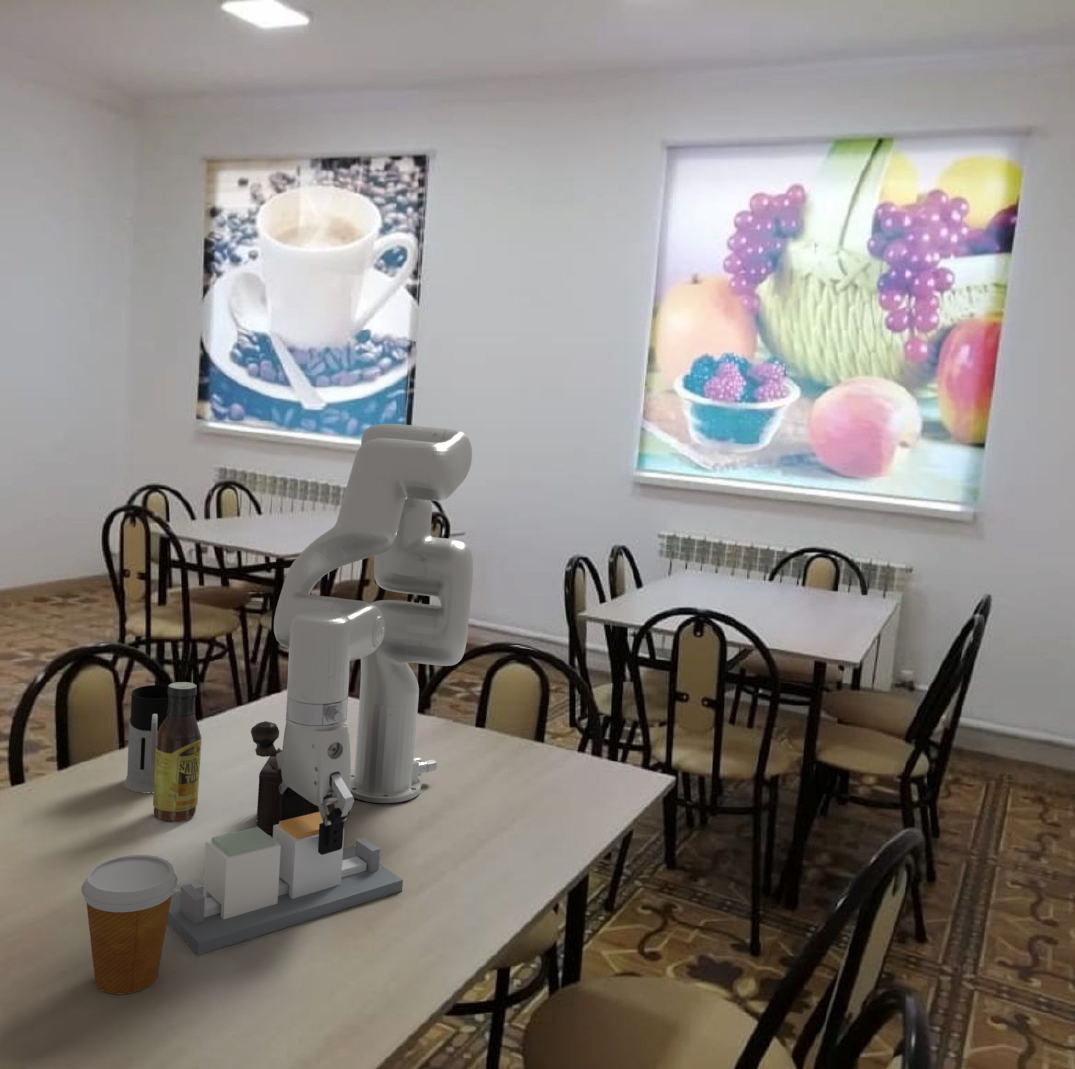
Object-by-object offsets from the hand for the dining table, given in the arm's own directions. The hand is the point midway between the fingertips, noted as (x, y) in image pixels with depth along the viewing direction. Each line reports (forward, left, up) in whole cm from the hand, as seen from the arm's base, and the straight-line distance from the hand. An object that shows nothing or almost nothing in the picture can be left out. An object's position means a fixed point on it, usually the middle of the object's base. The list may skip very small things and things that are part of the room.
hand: (310, 836), depth 130 cm
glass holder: (+4, -42, -8) cm, 42 cm away
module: (0, 0, -6) cm, 6 cm away
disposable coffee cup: (+26, +6, -8) cm, 27 cm away
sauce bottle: (+5, -31, -8) cm, 32 cm away
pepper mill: (-7, -18, -8) cm, 21 cm away
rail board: (+4, 0, -8) cm, 8 cm away
